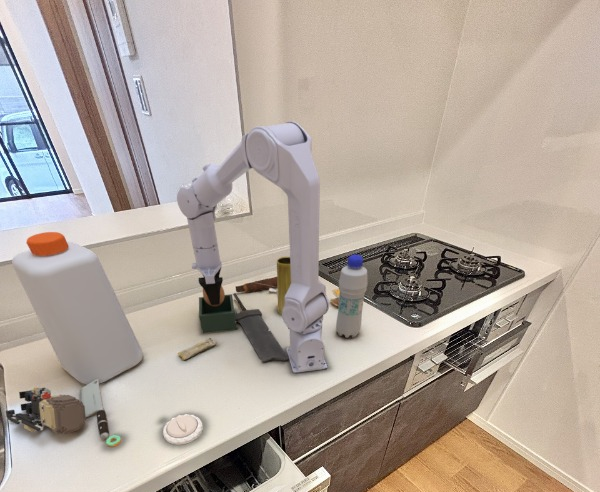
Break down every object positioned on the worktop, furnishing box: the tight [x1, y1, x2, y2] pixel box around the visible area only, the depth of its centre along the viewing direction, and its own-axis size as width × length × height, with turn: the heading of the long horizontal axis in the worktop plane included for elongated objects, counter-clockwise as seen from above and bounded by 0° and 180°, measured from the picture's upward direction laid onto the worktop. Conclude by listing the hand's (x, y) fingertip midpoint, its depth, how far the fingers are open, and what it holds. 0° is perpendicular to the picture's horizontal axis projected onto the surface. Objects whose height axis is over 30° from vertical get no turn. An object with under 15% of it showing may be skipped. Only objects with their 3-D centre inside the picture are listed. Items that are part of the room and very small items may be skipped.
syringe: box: [253, 281, 278, 294], centre depth 107 cm, size 10×2×2 cm
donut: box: [105, 434, 122, 448], centre depth 66 cm, size 2×10×1 cm, turn 120°
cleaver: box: [79, 379, 110, 440], centre depth 69 cm, size 17×1×5 cm
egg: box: [202, 285, 226, 306], centre depth 89 cm, size 5×5×7 cm
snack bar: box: [177, 337, 218, 361], centre depth 85 cm, size 10×2×3 cm
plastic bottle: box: [11, 231, 144, 385], centre depth 72 cm, size 15×15×28 cm
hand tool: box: [235, 276, 277, 293], centre depth 109 cm, size 26×3×4 cm, turn 113°
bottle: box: [335, 254, 369, 339], centre depth 84 cm, size 7×7×20 cm
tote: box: [198, 293, 238, 334], centre depth 93 cm, size 10×9×5 cm
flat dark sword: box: [232, 292, 289, 363], centre depth 92 cm, size 7×35×2 cm, turn 24°
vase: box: [276, 256, 291, 315], centre depth 94 cm, size 6×6×14 cm
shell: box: [330, 288, 340, 307], centre depth 100 cm, size 8×4×5 cm
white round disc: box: [162, 413, 204, 446], centre depth 66 cm, size 7×7×2 cm
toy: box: [5, 386, 87, 435], centre depth 65 cm, size 7×8×15 cm
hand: (215, 298), depth 91 cm, fingers closed on egg, 5 cm apart
